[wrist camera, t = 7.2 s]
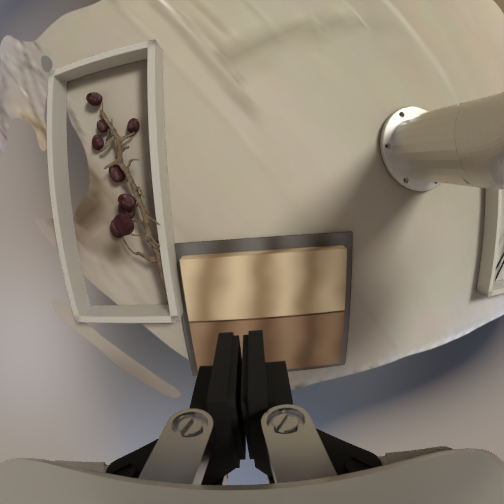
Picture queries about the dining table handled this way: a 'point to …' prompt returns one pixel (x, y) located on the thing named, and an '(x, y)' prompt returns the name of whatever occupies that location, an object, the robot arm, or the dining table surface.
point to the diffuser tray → (490, 245)
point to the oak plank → (264, 283)
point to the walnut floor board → (267, 246)
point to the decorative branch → (118, 172)
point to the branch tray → (159, 180)
